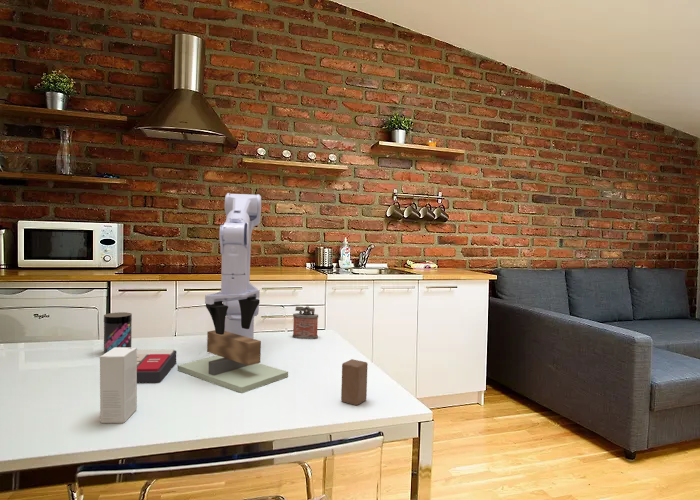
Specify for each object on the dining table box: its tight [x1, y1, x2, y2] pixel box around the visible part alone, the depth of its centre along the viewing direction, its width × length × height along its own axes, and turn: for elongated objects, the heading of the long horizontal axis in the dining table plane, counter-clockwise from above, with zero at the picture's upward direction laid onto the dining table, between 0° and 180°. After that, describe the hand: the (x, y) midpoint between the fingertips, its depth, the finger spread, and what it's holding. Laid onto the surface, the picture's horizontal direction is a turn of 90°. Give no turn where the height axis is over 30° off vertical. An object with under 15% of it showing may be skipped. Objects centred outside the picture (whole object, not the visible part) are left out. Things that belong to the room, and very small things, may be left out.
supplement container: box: [103, 311, 133, 354], centre depth 123 cm, size 7×7×10 cm
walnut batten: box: [206, 329, 262, 366], centre depth 108 cm, size 16×3×5 cm, turn 51°
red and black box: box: [137, 348, 177, 384], centre depth 108 cm, size 11×4×15 cm
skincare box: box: [99, 347, 138, 424], centre depth 83 cm, size 6×4×12 cm
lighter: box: [292, 305, 319, 340], centre depth 146 cm, size 8×3×10 cm, turn 84°
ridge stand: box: [177, 355, 289, 394], centre depth 109 cm, size 23×14×4 cm, turn 54°
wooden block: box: [340, 359, 369, 406], centre depth 94 cm, size 4×4×8 cm
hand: (233, 331), depth 108 cm, fingers open, 7 cm apart
